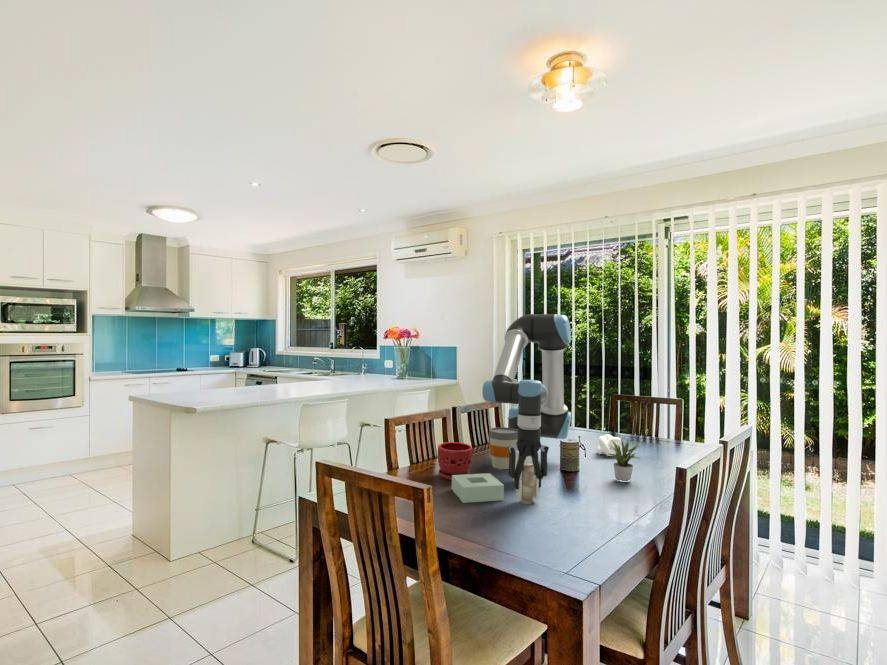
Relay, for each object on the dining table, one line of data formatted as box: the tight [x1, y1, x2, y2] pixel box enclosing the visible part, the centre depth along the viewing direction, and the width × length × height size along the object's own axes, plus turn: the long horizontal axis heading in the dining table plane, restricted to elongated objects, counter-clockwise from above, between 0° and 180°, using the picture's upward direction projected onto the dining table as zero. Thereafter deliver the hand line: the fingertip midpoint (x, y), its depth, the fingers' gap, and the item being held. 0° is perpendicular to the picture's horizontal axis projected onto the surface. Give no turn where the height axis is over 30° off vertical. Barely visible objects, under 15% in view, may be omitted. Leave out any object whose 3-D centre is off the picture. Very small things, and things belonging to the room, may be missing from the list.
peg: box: [520, 464, 535, 505], centre depth 168 cm, size 4×4×12 cm
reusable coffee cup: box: [488, 426, 517, 470], centre depth 211 cm, size 13×13×15 cm
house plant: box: [606, 438, 642, 481], centre depth 194 cm, size 14×14×16 cm
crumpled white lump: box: [595, 433, 622, 457], centre depth 236 cm, size 11×12×9 cm
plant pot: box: [437, 441, 473, 481], centre depth 194 cm, size 13×13×12 cm
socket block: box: [451, 472, 505, 504], centre depth 175 cm, size 14×14×5 cm
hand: (527, 498), depth 168 cm, fingers open, 5 cm apart
